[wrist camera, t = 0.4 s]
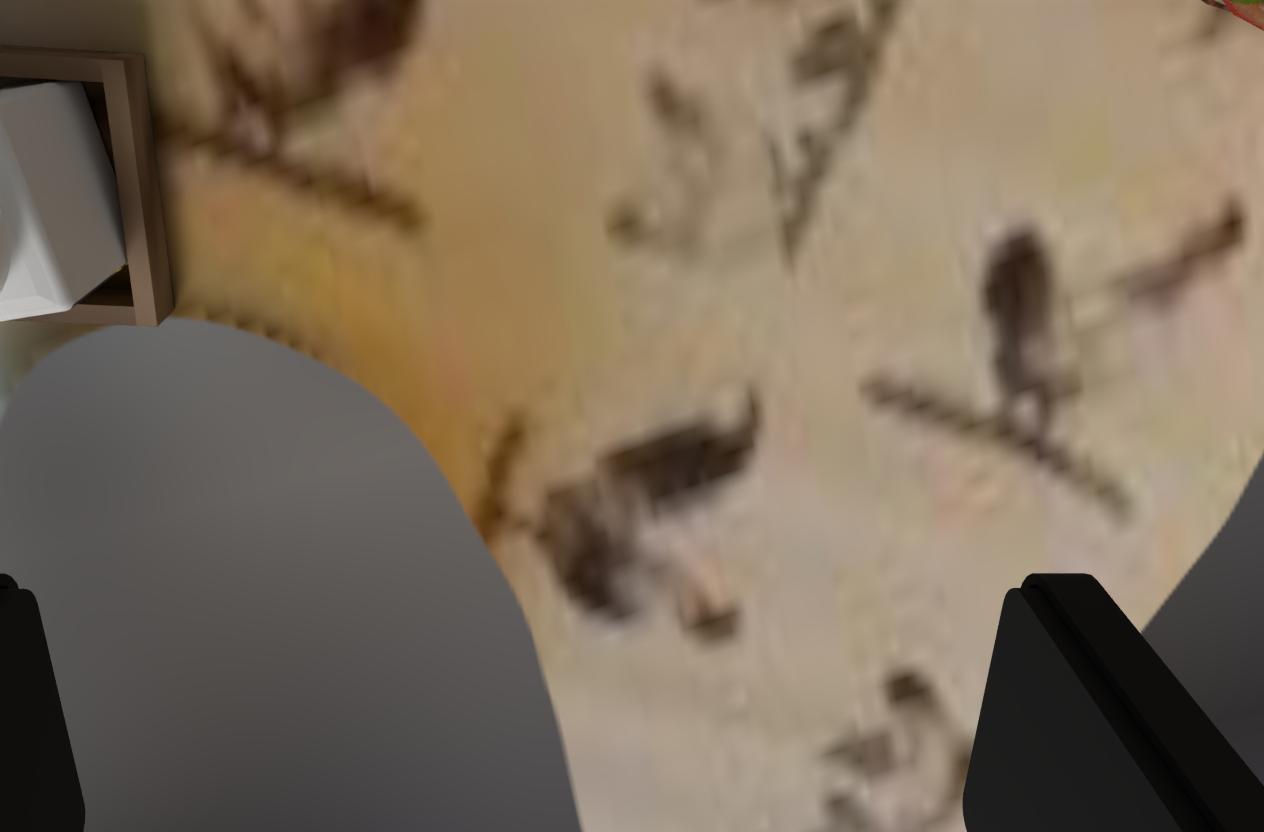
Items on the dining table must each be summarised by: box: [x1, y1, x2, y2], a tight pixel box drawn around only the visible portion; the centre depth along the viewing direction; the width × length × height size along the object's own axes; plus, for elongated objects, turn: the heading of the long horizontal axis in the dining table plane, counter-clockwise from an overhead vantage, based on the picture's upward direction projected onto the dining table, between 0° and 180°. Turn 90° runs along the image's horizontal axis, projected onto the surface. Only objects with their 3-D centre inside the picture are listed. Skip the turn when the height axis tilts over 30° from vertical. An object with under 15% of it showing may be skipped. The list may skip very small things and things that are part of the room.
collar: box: [0, 45, 174, 327], centre depth 41 cm, size 10×10×2 cm
